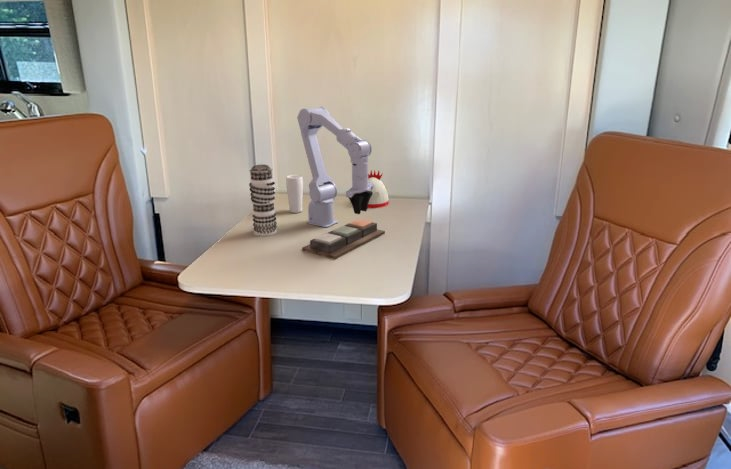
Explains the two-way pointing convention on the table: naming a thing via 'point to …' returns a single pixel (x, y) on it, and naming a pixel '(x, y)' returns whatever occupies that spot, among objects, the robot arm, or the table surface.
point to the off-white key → (328, 238)
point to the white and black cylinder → (263, 200)
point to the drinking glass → (295, 192)
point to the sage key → (345, 230)
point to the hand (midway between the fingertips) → (360, 212)
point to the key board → (344, 242)
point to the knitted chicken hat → (377, 192)
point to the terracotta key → (360, 223)
